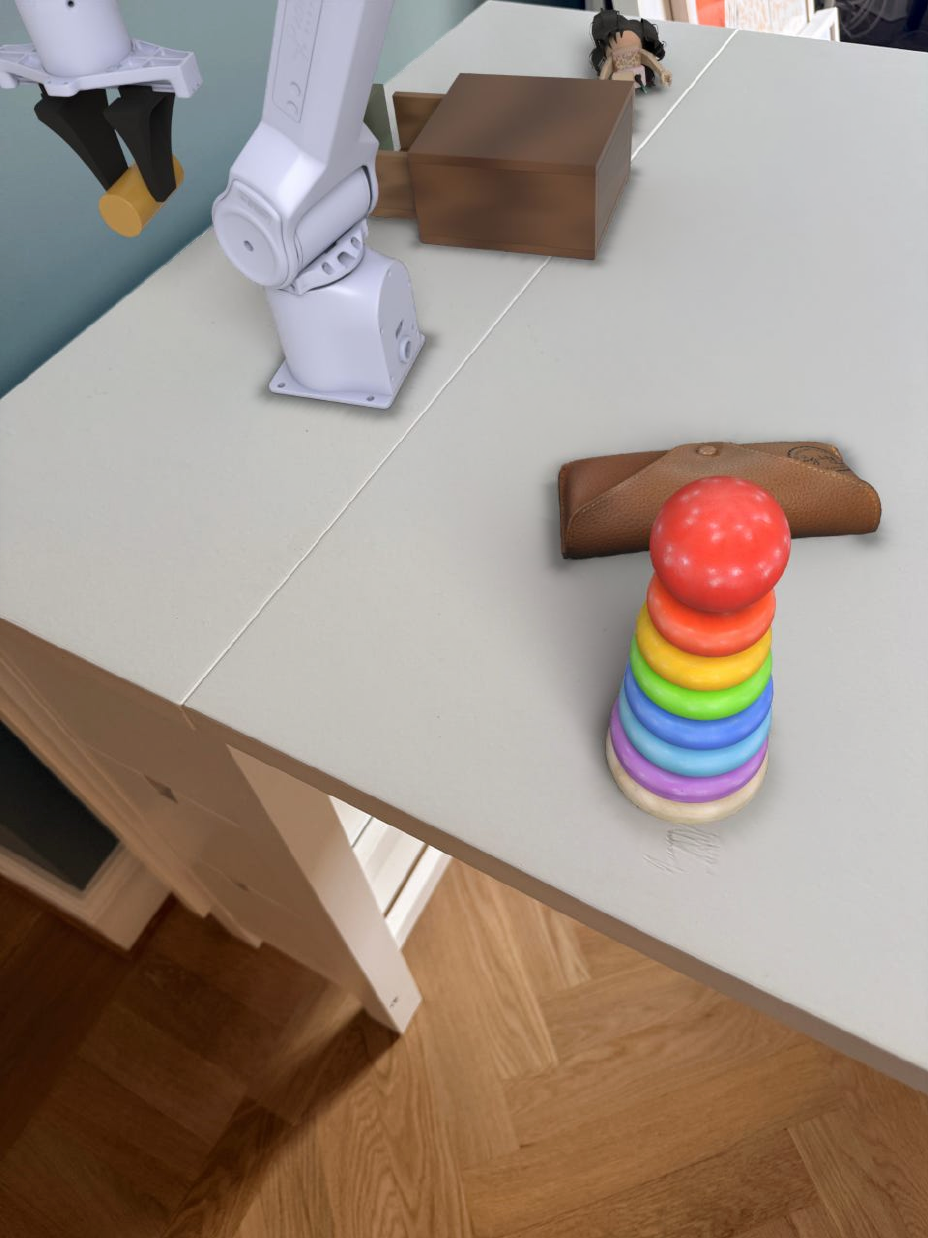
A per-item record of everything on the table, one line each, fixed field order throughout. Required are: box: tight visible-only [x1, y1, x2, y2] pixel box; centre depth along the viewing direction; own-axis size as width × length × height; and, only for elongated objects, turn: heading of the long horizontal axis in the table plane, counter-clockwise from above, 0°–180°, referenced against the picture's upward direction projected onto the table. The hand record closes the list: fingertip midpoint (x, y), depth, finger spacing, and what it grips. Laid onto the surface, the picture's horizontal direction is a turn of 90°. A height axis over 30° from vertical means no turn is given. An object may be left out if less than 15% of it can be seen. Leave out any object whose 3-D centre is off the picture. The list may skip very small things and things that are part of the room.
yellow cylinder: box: [98, 153, 185, 238], centre depth 67 cm, size 3×6×3 cm, turn 162°
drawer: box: [363, 83, 446, 221], centre depth 78 cm, size 18×11×6 cm, turn 71°
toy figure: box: [588, 7, 673, 130], centre depth 85 cm, size 7×6×15 cm
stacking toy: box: [605, 476, 792, 825], centre depth 40 cm, size 8×8×19 cm
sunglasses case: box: [557, 441, 883, 561], centre depth 55 cm, size 18×7×7 cm
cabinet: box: [407, 72, 635, 261], centre depth 75 cm, size 15×13×8 cm
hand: (143, 192), depth 67 cm, fingers closed on yellow cylinder, 3 cm apart
